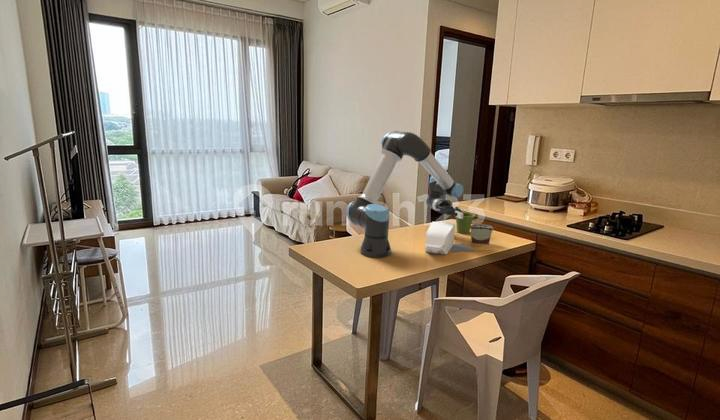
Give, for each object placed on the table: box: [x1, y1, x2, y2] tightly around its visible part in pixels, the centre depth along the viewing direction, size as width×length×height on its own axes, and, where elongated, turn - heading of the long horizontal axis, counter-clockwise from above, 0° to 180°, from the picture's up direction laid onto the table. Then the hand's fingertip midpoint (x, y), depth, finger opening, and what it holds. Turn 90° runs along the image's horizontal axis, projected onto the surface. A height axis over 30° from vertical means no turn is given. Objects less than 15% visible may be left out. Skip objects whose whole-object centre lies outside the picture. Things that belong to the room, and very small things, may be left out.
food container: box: [470, 223, 494, 246], centre depth 211 cm, size 12×6×10 cm, turn 84°
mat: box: [448, 242, 475, 253], centre depth 201 cm, size 16×12×1 cm
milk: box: [425, 221, 456, 256], centre depth 195 cm, size 12×12×26 cm
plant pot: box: [454, 211, 476, 235], centre depth 230 cm, size 12×12×11 cm
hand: (461, 216), depth 194 cm, fingers closed
